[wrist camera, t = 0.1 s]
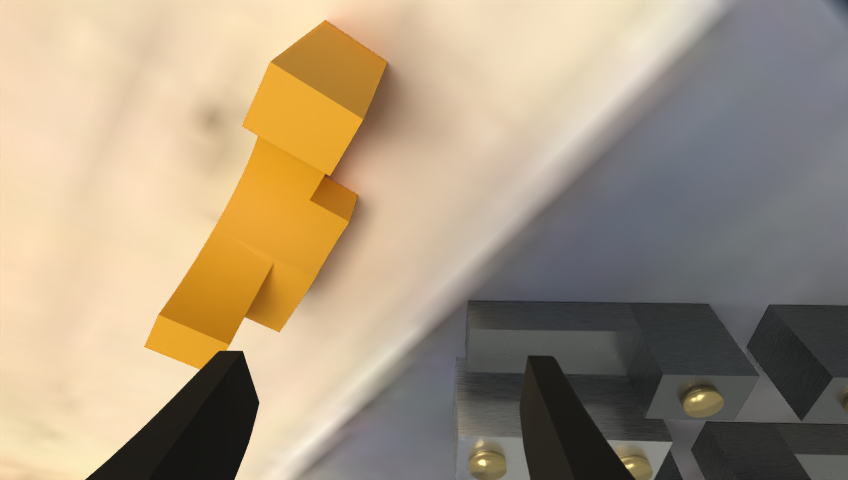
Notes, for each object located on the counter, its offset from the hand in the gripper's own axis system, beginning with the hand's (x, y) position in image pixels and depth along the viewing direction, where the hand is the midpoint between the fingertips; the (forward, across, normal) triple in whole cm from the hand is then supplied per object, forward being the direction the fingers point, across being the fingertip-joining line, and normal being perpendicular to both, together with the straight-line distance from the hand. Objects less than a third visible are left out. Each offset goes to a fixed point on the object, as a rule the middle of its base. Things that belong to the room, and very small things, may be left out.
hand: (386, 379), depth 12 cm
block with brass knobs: (+10, -7, +12) cm, 18 cm away
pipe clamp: (+10, +4, -1) cm, 11 cm away
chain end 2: (+10, -23, +12) cm, 28 cm away
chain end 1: (+10, -9, +12) cm, 18 cm away
